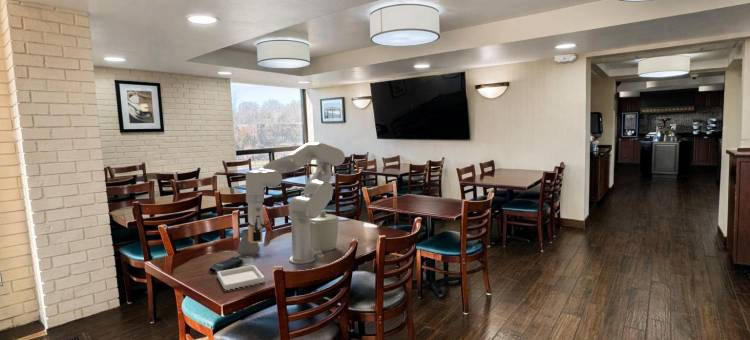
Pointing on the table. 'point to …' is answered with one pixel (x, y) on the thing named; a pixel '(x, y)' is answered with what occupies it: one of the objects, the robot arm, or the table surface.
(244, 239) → the coffee pot
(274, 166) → the robot arm
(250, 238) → the block
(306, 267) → the table surface
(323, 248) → the canister
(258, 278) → the tray
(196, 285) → the table surface
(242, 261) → the electronic device
